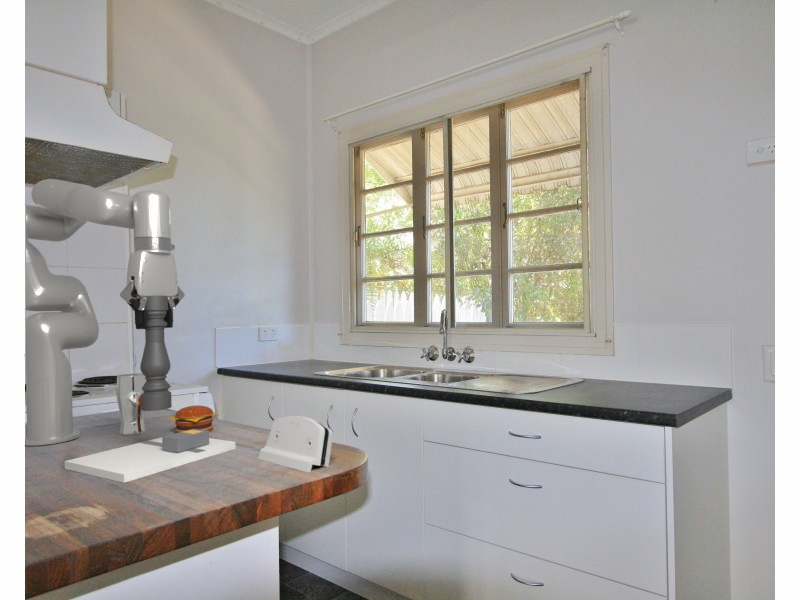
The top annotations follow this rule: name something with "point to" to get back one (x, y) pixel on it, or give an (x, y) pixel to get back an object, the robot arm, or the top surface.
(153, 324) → the candle holder
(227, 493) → the top surface
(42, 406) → the robot arm
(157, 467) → the white rectangular board
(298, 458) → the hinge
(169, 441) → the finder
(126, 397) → the beer glass
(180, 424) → the hamburger
